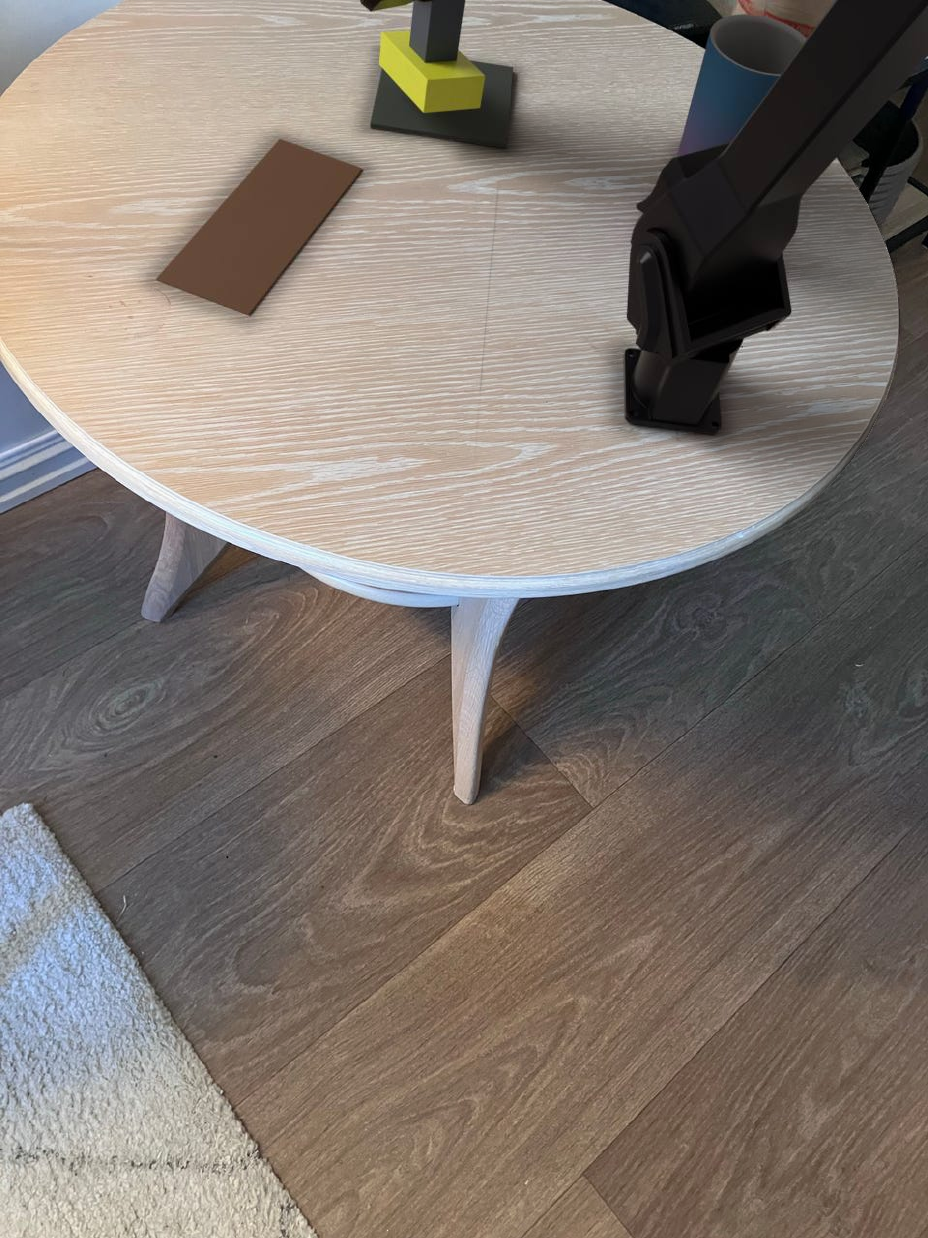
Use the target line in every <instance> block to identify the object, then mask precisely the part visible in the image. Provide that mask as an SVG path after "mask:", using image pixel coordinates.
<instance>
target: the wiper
mask: <svg viewBox="0 0 928 1238" xmlns="http://www.w3.org/2000/svg"><path fill="white" fill-rule="evenodd" d="M465 6H466V0H435V1H430V2H424V3H420V2H417V1H414V2H412V13H411V22H410V30H391V31H390V30H388V31H381V33H380V45H379V56H378V65H379V66H380V67H381V69H382V68H383V69H384V70H385V71H386V73H387V74H388V75H389V76H390V77H391V78H392V79H393V80H394V81H395V82H396V83H397V85H398V86H399V87H400V88H401V89H402V90H403V91H404V92H405V93H406V94H407V95H408V97H409V98H410V99H411V100H412V101H413V102H414V103H415V104H416V105H417V106H418V107H419V109H420V110H421V111H422V112H423V113H429V112H440V111H452V110H463V109H475V108H480V105H481V99H482V93H483V87H484V81H485V75H484V74H483V73H482V72H481V71H480V70H479V69H478V68H477V67H476V66H475V65H474V64H473V63H472V62H471V61H472V60H471V61H470V59H469V58H468V57H467V56H466V54H464V53H463V52H462V51H461V50H459V48H460V40H461V34H462V26H463V19H464V12H465Z"/></svg>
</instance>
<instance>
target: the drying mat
mask: <svg viewBox="0 0 928 1238" xmlns="http://www.w3.org/2000/svg"><path fill="white" fill-rule="evenodd" d="M469 60H470V59H469ZM470 61H471V62H472V63H473V64H474V65H475V66H476V67H477V68H478V69H479V70H480V71H481V72H482V73H483V74H484V75H485V81H484V87H483V93H482V99H481V105H480V108H475V109H463V110H452V111H440V112H429V113H423V112H422V111H421V110H420V109H419V107H418V106H417V105H416V104H415V103H414V102H413V101H412V100H411V99H410V98H409V97H408V95H407V94H406V93H405V92H404V91H403V90H402V89H401V88H400V87H399V86H398V85H397V83H396V82H395V81H394V80H393V79H392V78H391V77H390V76H389V75H388V74H387V73H386V71H385V70H384V69H383V68H382V67H381V69H380V75H379V79H378V84H377V90H376V95H375V100H374V104H373V108H372V109H373V111H372V114H371V119H370V122H369V123H370V126H369V127H370V129H376V130H382V131H389V132H395V133H401V134H409V135H415V136H421V137H429V138H435V139H442V140H448V141H455V142H460V143H468V144H475V145H481V146H486V147H487V146H488V147H494V148H501V149H507V147H508V138H509V124H510V113H511V112H510V111H511V99H512V88H513V76H514V75H513V73H514V66H508V65H502V64H496V63H489V62H483V61H477V60H472V59H471V60H470Z"/></svg>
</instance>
